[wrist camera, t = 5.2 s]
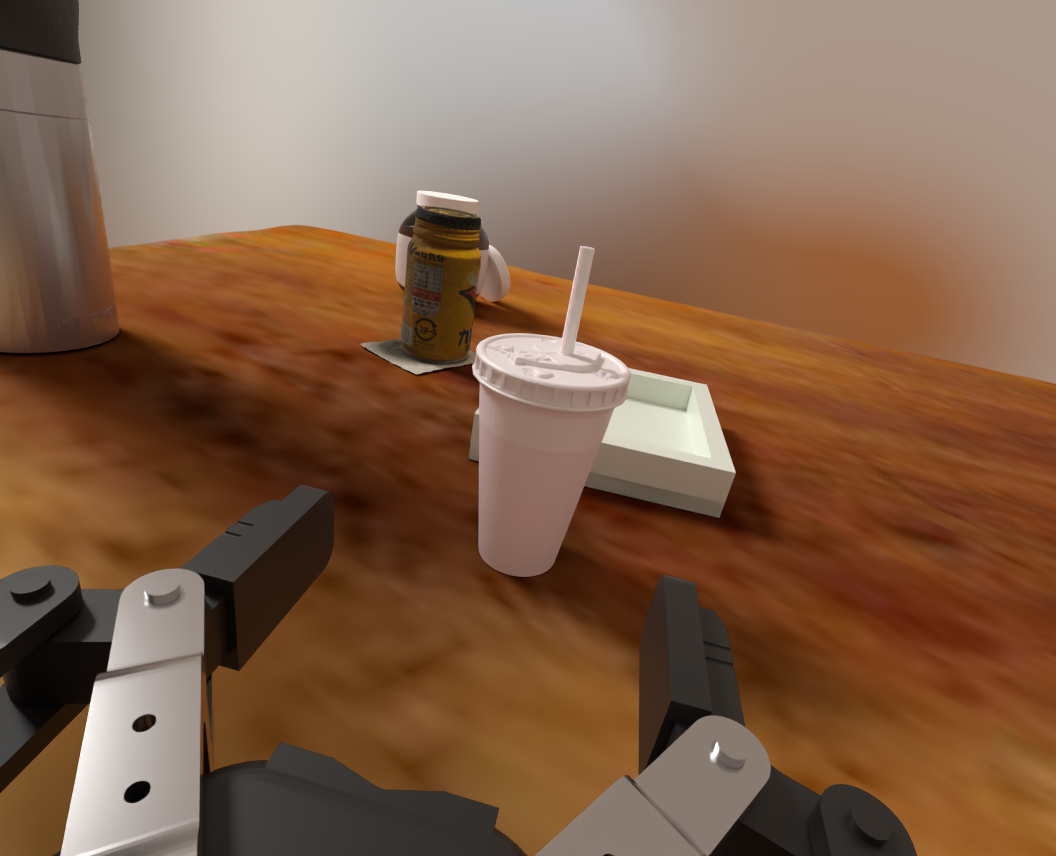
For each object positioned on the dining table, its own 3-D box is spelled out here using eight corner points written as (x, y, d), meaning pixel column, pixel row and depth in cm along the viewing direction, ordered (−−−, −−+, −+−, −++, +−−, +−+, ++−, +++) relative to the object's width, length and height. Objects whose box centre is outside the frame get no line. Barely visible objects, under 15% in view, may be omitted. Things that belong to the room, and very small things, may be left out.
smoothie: (610, 577, 26) (698, 271, 20) (488, 614, 23) (550, 260, 17) (538, 503, 31) (592, 237, 25) (427, 524, 28) (460, 223, 22)
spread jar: (383, 294, 66) (389, 187, 61) (434, 283, 76) (443, 189, 71) (475, 320, 63) (489, 208, 58) (516, 304, 72) (531, 207, 67)
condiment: (489, 360, 51) (508, 220, 46) (415, 376, 45) (429, 216, 40) (434, 336, 55) (447, 204, 50) (359, 347, 49) (365, 198, 44)
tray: (468, 458, 34) (474, 413, 33) (516, 379, 48) (522, 345, 46) (719, 517, 33) (736, 472, 31) (695, 419, 46) (706, 384, 45)
